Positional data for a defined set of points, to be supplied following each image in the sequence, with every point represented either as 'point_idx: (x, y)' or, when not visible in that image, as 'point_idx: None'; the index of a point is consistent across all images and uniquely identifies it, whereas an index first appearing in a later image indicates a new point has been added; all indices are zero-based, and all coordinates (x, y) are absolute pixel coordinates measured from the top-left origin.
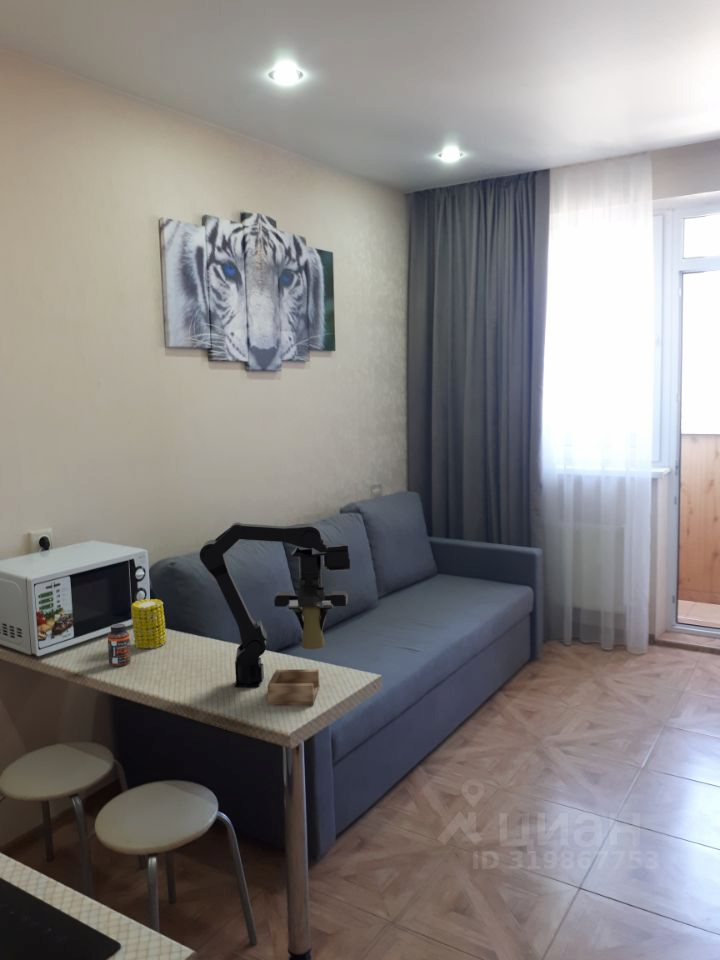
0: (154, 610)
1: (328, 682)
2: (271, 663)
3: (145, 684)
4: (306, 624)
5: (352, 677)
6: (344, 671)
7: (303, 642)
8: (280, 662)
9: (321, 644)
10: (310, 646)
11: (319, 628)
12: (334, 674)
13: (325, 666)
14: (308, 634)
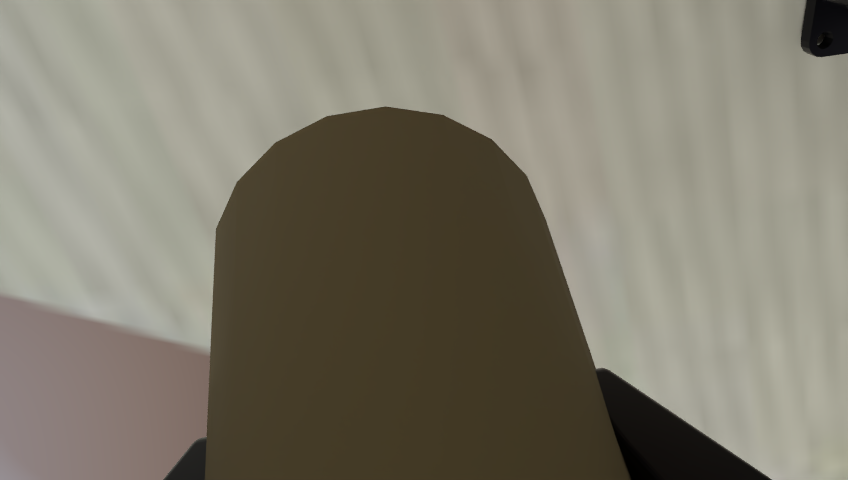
0: None
1: (194, 31)
2: (752, 347)
3: None
4: (551, 428)
5: (22, 183)
6: (157, 296)
7: (521, 197)
8: (692, 373)
9: (222, 238)
10: (377, 126)
11: (212, 439)
12: (215, 224)
13: None
14: (442, 242)
